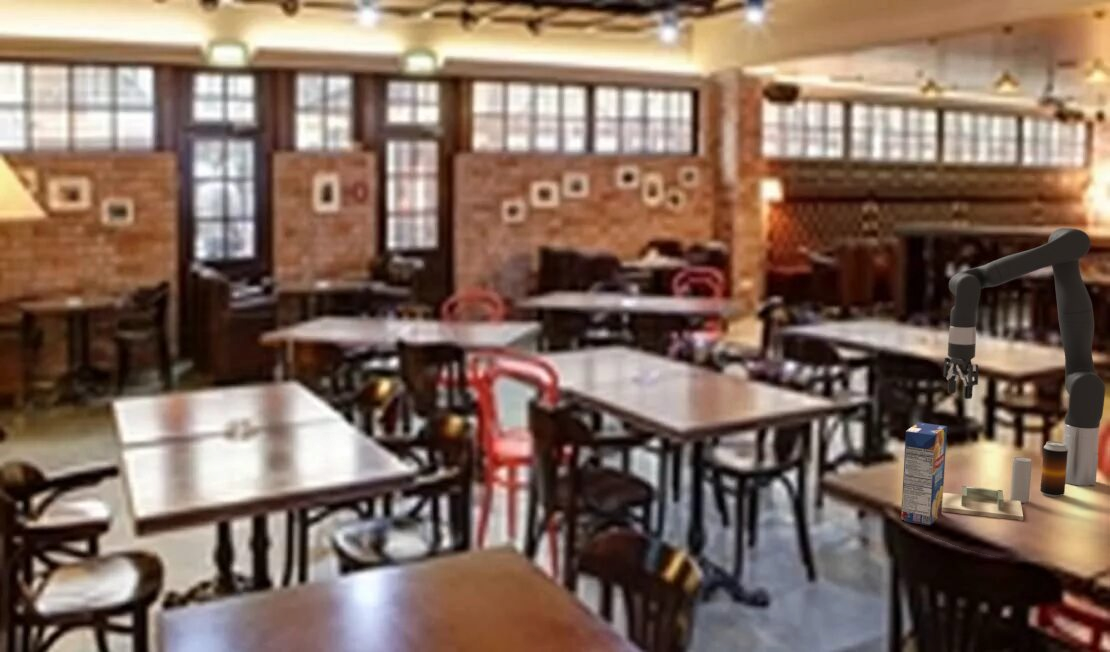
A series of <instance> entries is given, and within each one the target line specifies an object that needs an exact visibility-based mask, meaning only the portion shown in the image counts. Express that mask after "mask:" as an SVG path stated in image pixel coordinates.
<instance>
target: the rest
mask: <svg viewBox="0 0 1110 652" xmlns="http://www.w3.org/2000/svg"><path fill="white" fill-rule="evenodd" d="M943 512H945V513H953V514H961V515H969V514H970V515H971V516H978V515H980V516H979V517H986V516H989V517H988V518H995V517H998V518H997V519H1004V518H1007V519H1006V520H1013V519H1018V520H1017V521H1022V520H1023V521H1024V515H1023V507H1022V503H1021V501H1016V500H1011V499H1007V498H1006V499H1004V491H1003V490H1002V489H995V488H984V487H973V486H965V485H962V486H961V494H959V493H951V492H950V493H948V492H943V500H942V513H943Z"/></svg>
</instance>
